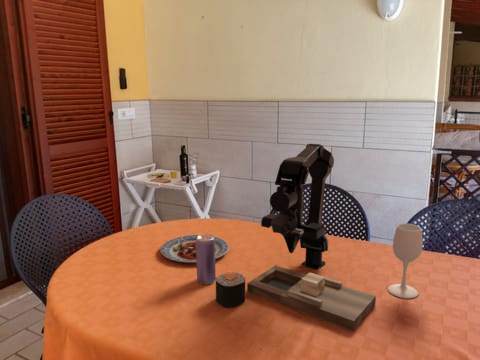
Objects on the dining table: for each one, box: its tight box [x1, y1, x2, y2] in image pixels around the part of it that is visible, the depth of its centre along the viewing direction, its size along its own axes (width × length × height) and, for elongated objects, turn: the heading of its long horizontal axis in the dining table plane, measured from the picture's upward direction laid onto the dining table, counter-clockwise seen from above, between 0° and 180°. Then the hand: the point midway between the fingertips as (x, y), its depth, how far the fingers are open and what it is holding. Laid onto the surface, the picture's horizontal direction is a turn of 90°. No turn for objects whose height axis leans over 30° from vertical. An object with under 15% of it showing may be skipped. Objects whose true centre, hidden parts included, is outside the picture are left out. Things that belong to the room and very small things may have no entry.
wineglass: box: [387, 223, 424, 300], centre depth 125 cm, size 9×9×21 cm
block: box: [301, 272, 325, 296], centre depth 122 cm, size 5×5×4 cm
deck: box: [246, 264, 377, 332], centre depth 123 cm, size 16×34×4 cm, turn 53°
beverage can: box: [196, 233, 217, 285], centre depth 133 cm, size 6×6×15 cm
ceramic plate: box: [160, 234, 230, 264], centre depth 157 cm, size 26×26×3 cm
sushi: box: [215, 271, 246, 309], centre depth 121 cm, size 8×8×8 cm
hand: (291, 252), depth 124 cm, fingers closed
